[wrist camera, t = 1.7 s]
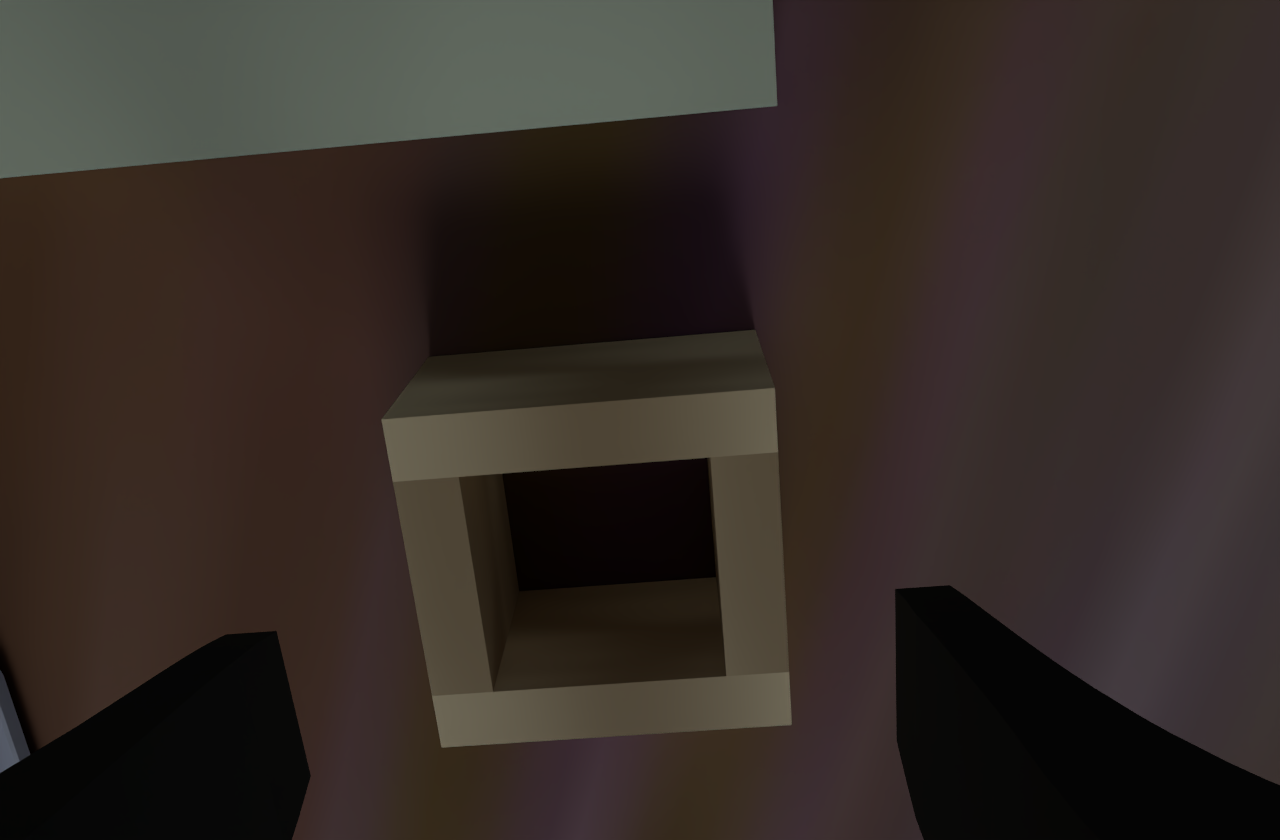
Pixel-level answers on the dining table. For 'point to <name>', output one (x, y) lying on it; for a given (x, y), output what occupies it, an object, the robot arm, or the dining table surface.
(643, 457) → the collar
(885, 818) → the dining table surface
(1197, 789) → the robot arm
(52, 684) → the dining table surface
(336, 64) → the pin board
